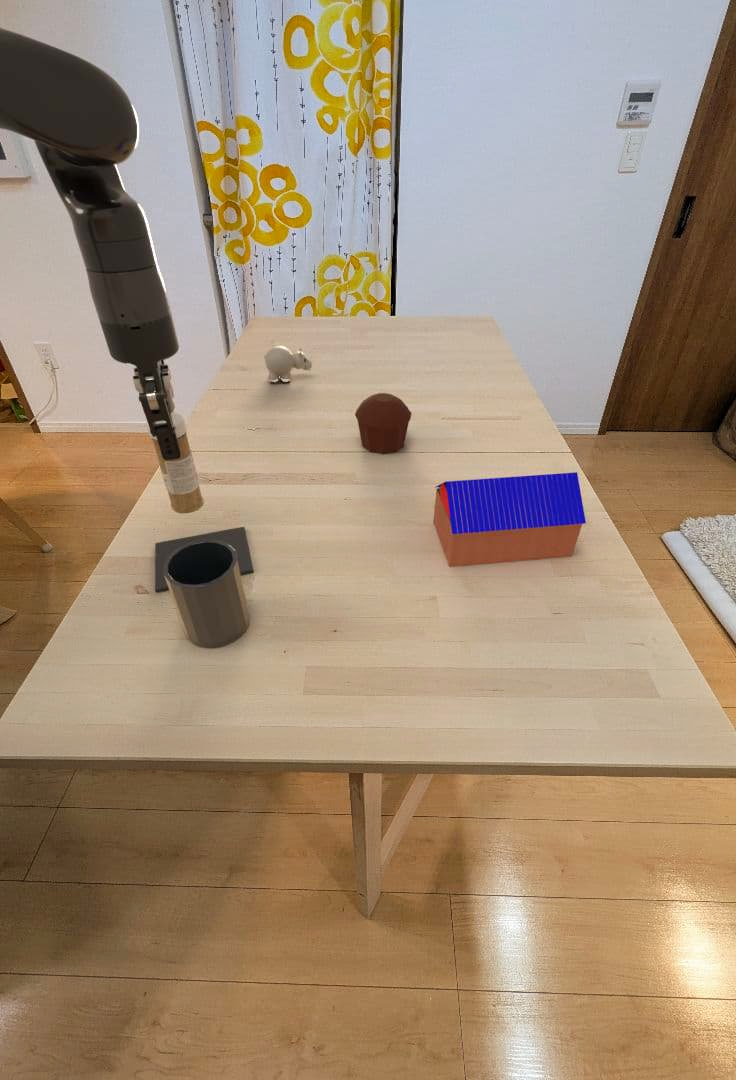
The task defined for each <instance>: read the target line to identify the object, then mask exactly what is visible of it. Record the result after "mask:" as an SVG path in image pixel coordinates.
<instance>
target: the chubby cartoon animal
mask: <svg viewBox="0 0 736 1080" xmlns="http://www.w3.org/2000/svg"><path fill="white" fill-rule="evenodd" d="M313 362H314V358H313V357H312V355H310V358H309V357H308V358H307V356H306V354H305V353H304V352H303V351H302V348H301V347H300V348H299V349H298V350H297V351H296V352H294V353H293V352H291V350H290V349H288V348H287V347H286V346H283V345H274V346H273V347H271V348H269V349H268V351H267V352H266V353H265V354H264V363H265V367H266V369H267V370H268V372H269V375H268V380H269V379H270V380H276V379H278V378H279V376H280V378H282V379H289V378H290V377H291V372H292V371H293V369H296V370H301V369H302V370H304V371H310V370H311V369H312V367H313Z"/></svg>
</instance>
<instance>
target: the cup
mask: <svg viewBox="0 0 736 1080" xmlns="http://www.w3.org/2000/svg"><path fill="white" fill-rule="evenodd" d="M164 576H165V579H166V582H167V585H168V588H169V590H168V591H169V593H170V596H171V599H172V601H173V605H174V608H175V610H176V613H177V616H178V619H179V622H180V625H181V628H182V631H183V632H184V634H185V636H186V639H187V640H188V641H189V642H190V643H191V644H193V645H195V646H197V647H199V648H204V649H205V648H206V649H216V648H222V647H224V646H227V645H229V644H232V643H234V642H235V641H237V640H239V638H240V637H242V636H243V635H244V634H245V632H246V631H247V629H248V628H249V625H250V621H251V616H250V615H251V614H250V611H249V606H248V605H249V604H248V600H247V595H246V592H245V587H244V583H243V579H242V575H241V573H240V569H239V564H238V560H237V555H236V551H235V550H234V549H233V548H232V547H231V546H230V545H229V544H226V543H224V542H221V541H218V540H201V541H196V542H191V543H189V544H187V545H185V546H182V547H180V548H178V549H177V550H176V551H175V552H173V553H172V554H171V555H170V556H169V557H168V559H167V560H166V562H165V564H164Z"/></svg>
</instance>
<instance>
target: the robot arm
mask: <svg viewBox="0 0 736 1080" xmlns="http://www.w3.org/2000/svg"><path fill="white" fill-rule="evenodd" d="M139 126H140V125H139V119H138V115H137V112H136V109H135V107H134V105H133V103H132V101H131V99H130V98H129V96H128V94H127V93H126V91H125V89H124V88H123V87H122V86H121V85H120V84H119V82H118V81H117V80H115V78H113V77H112V76H111V75H110V74H108V73H107V72H106V71H105V70H103V68H100V67H99V66H97V65H95V64H93V63H92V62H90V61H88V60H86V59H84V58H82V57H80V56H77V55H75V54H73V53H70V52H68V51H66V50H63V49H61V48H58V47H56V46H53V45H50V44H48V43H45V42H42V41H40V40H36V39H34V38H32V37H29V36H26V35H23V34H21V33H18V32H15V31H12V30H9V29H5V28H3V27H0V129H1V130H5V131H9V132H12V133H15V134H18V135H19V136H23V137H25V138H28V139H31V140H32V141H34V144H35V146H36V149H37V152H38V153H39V156H40V158H41V160H42V163H43V164H44V167H45V169H46V171H47V173H48V175H49V177H50V180H51V181H52V184H53V186H54V188H55V190H56V192H57V194H58V196H59V199H60V200H61V202H62V203H63V205H64V207H65V209H66V211H67V213H68V215H69V218H70V220H71V224H72V228H73V231H74V232H73V233H74V235H75V239H76V242H77V245H78V248H79V251H80V254H81V257H82V261H83V264H84V268H85V271H86V275H87V280H88V286H89V290H90V291H89V292H90V295H91V298H92V301H93V304H94V308H95V312H96V314H97V317H98V321H99V324H100V327H101V330H102V333H103V336H104V339H105V342H106V346H107V349H108V352H109V355H110V357H111V359H113V360H115V362H118V363H122V364H124V365H125V364H129V365H133V366H135V367H133V373H134V375H132V381H133V385H134V388H135V390H136V391H137V392H138V402H140V404H141V407H142V410H143V414H144V416H145V419H146V423H147V422H148V424H149V427H150V433H151V434H152V436H153V437H156V436H157V440H158V443H159V447H160V450H161V454H162V457H163V459H164V460H173V459H179V458H180V457H181V452H180V448H179V444H178V440H177V437H176V433H175V429H176V426H175V425H174V422H173V418H172V412H175V408H176V405H175V403H174V397H175V394H174V387H173V384H172V376H171V375H172V374H171V370H170V369H171V368H170V366H169V364H167V363H165V361H166V360H168V359H171V358H172V357H173V356H175V355H176V354H177V353H178V351H179V348H180V345H179V341H178V335H177V330H176V327H175V322H174V320H173V319H174V318H173V314H172V310H171V306H170V301H169V297H168V292H167V288H166V285H165V282H164V278H163V276H162V273H161V271H160V268H159V265H158V260H157V256H156V251H155V248H154V243H153V239H152V234H151V230H150V226H149V222H148V219H147V216H146V214H145V211H144V209H143V208H142V205H141V204H140V203H139V202H138V201H136V200H135V199H134V198H133V197H132V196H130V195H129V193H128V192H127V191H126V188H125V186H124V184H123V181H122V178H121V176H120V172H119V170H118V167H117V166H118V165H120V164H122V163H125V161H127V160H128V159H129V158H131V156H132V155H133V153H134V152H135V150H136V148H137V146H138V143H139V135H140V127H139ZM157 421H166V423H160V424H157V423H156V422H157Z"/></svg>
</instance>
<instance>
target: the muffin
mask: <svg viewBox="0 0 736 1080" xmlns="http://www.w3.org/2000/svg"><path fill="white" fill-rule="evenodd" d="M354 416H355V418H356V420H357V425H358V426H357V427H358V431H359V436H360V441H361V447H363V448H364V449H366V450H367V451H368V450H369V451H368V452H370V453H376V454H381V455H385V454H392V453H397V452H398V451H399V450H401V449H402V448H404V447H405V442H406V438H407V437H406V436H407V432H408V429H409V424H410V423H409V422H410V421H411V418H412V412H411V410H410V409H409V407H408V406H407V405H406V404H405V403H404V401H403V400H402V399H401V398H400V397H397V396H396V395H394V394H391V393H387V392H378V393H373V394H372V395H370V396H368V397H366V398H365V399H364V400H362V402H360V404H359V405H358V407H357V408H356V410H355V412H354Z"/></svg>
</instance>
